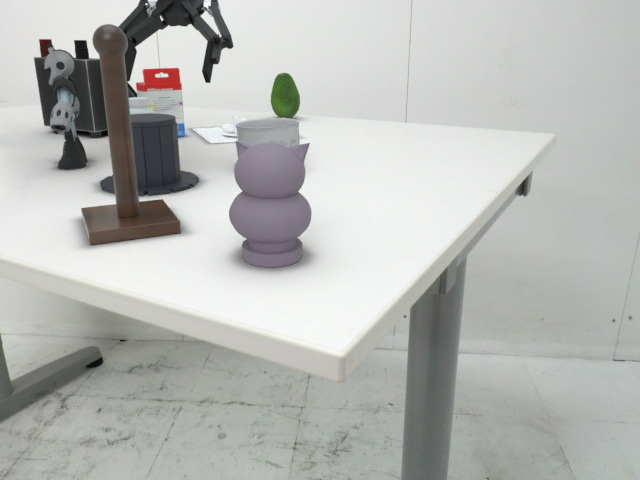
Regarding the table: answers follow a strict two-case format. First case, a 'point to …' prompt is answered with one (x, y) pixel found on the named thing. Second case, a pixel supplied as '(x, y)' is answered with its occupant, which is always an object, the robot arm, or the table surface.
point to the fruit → (285, 96)
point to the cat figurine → (270, 203)
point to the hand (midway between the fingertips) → (165, 76)
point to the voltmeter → (87, 85)
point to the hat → (156, 156)
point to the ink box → (164, 94)
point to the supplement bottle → (139, 105)
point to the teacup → (269, 131)
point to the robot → (65, 106)
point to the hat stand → (122, 157)
